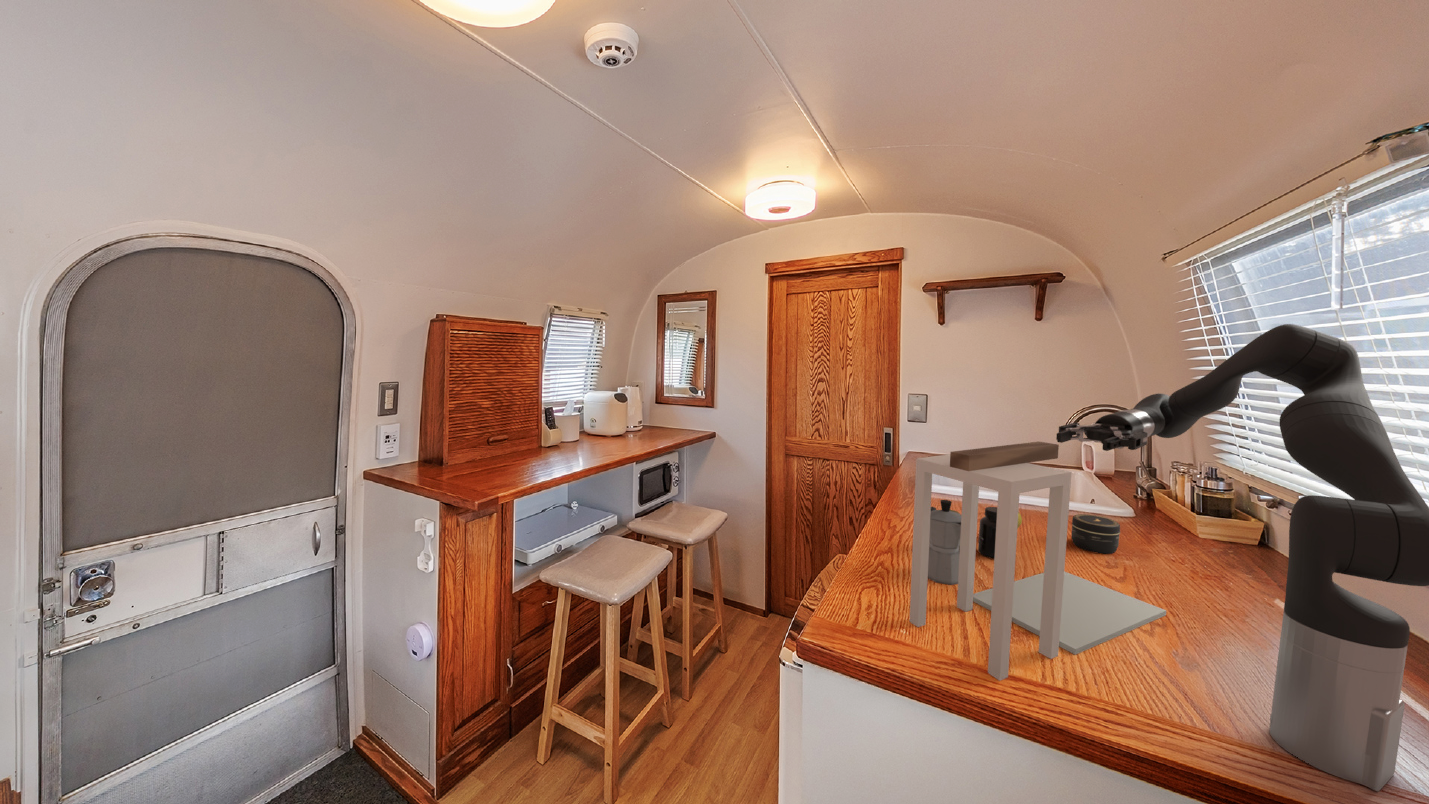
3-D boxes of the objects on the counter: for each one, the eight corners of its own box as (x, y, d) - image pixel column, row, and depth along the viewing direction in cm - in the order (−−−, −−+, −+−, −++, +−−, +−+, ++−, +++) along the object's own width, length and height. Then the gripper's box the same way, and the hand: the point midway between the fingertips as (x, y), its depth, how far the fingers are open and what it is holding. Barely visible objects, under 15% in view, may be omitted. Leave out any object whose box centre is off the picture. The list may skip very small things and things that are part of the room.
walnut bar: (1057, 458, 86) (1058, 444, 86) (968, 471, 77) (969, 455, 76) (1037, 454, 90) (1038, 441, 89) (949, 466, 80) (950, 451, 80)
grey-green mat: (1165, 615, 92) (1166, 610, 91) (1075, 654, 79) (1075, 649, 79) (1056, 572, 110) (1057, 568, 110) (969, 599, 98) (969, 594, 98)
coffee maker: (980, 584, 104) (984, 506, 102) (951, 592, 101) (955, 511, 99) (927, 558, 118) (930, 489, 116) (900, 563, 115) (903, 492, 113)
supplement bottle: (971, 551, 122) (974, 507, 121) (989, 547, 124) (991, 503, 123) (997, 562, 115) (1000, 515, 114) (1014, 557, 118) (1017, 511, 117)
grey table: (1058, 655, 79) (1071, 471, 76) (999, 680, 73) (1011, 481, 70) (963, 604, 95) (971, 451, 92) (909, 621, 89) (916, 458, 86)
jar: (1113, 544, 126) (1116, 517, 125) (1122, 558, 118) (1125, 529, 117) (1067, 537, 131) (1069, 511, 131) (1073, 550, 123) (1075, 522, 122)
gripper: (1088, 407, 110) (1045, 419, 103) (1166, 416, 97) (1122, 430, 90) (1087, 438, 111) (1044, 451, 104) (1164, 450, 98) (1120, 467, 92)
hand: (1080, 441), depth 97 cm, fingers open, 8 cm apart
